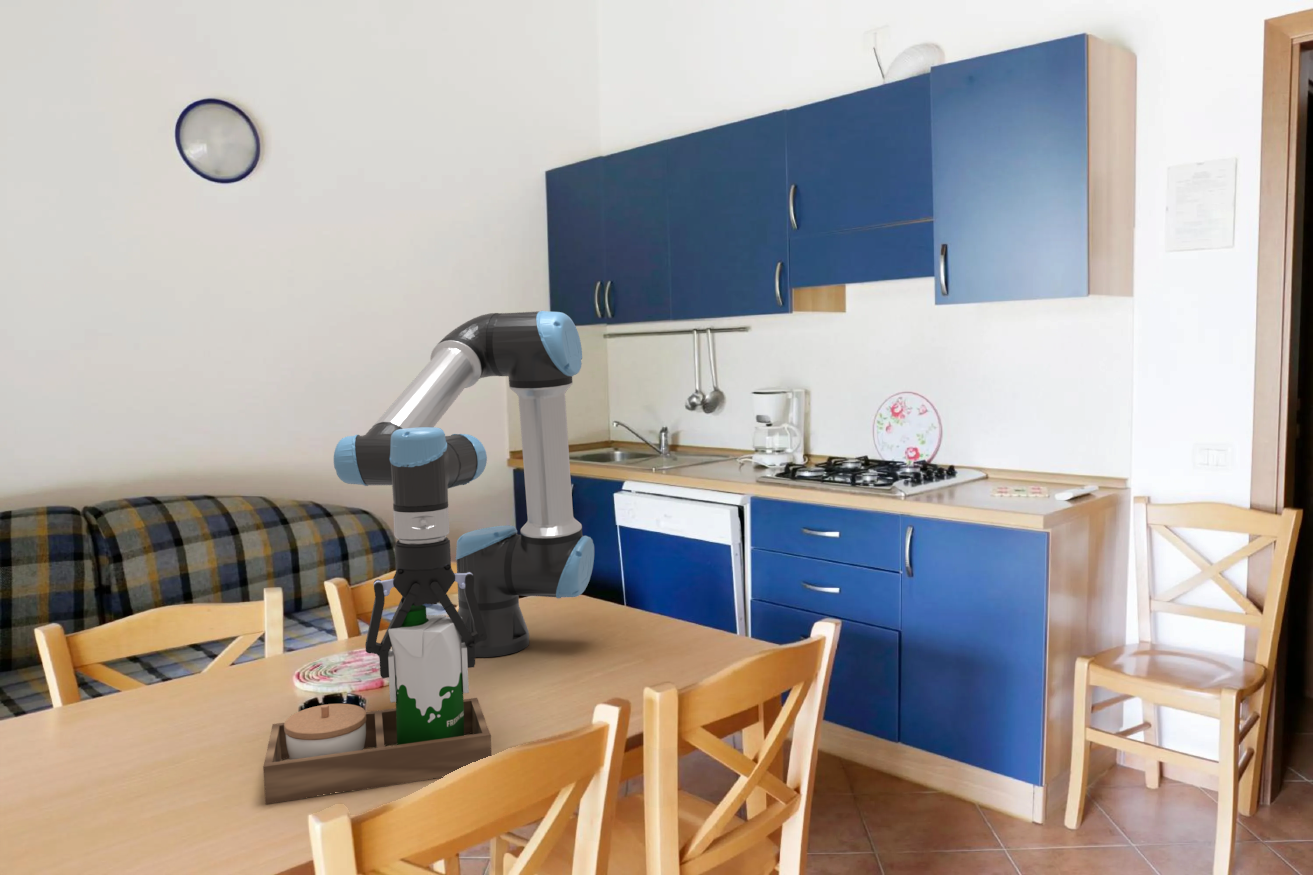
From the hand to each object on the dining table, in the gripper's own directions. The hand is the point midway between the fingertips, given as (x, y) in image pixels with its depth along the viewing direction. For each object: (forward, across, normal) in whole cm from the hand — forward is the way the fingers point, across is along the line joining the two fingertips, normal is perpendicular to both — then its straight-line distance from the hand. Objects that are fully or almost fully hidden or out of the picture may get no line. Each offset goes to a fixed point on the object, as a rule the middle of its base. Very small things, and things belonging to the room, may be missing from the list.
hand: (429, 694), depth 136 cm
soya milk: (+8, 0, 0) cm, 8 cm away
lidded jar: (+9, -14, 0) cm, 17 cm away
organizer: (+9, -7, 0) cm, 12 cm away
